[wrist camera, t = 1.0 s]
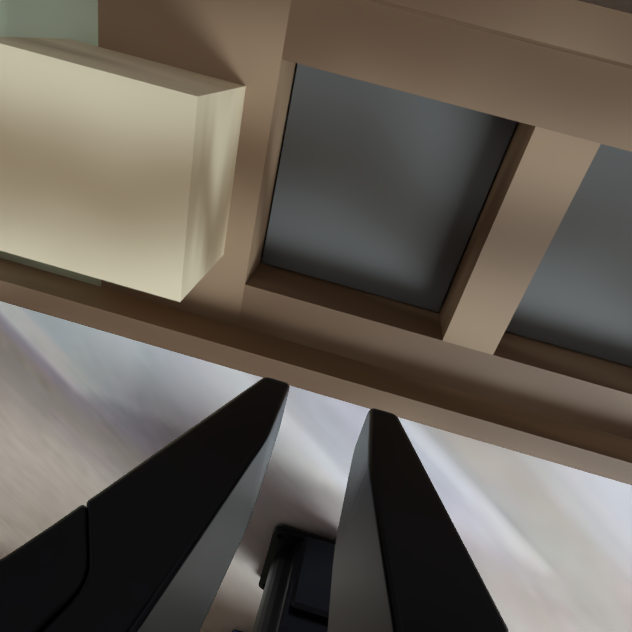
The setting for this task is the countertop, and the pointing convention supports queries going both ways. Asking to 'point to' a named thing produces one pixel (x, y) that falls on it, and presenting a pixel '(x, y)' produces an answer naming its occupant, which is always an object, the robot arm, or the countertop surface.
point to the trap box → (400, 210)
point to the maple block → (115, 163)
